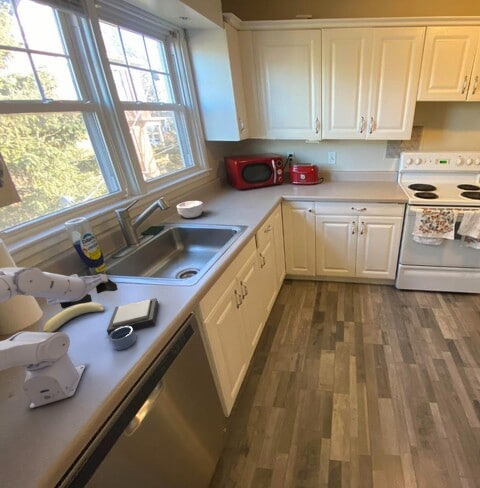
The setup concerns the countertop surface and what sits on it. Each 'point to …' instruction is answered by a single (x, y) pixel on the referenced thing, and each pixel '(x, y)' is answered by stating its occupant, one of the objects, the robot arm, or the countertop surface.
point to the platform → (132, 312)
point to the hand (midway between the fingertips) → (103, 292)
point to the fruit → (70, 315)
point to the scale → (140, 323)
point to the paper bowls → (190, 209)
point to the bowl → (122, 337)
